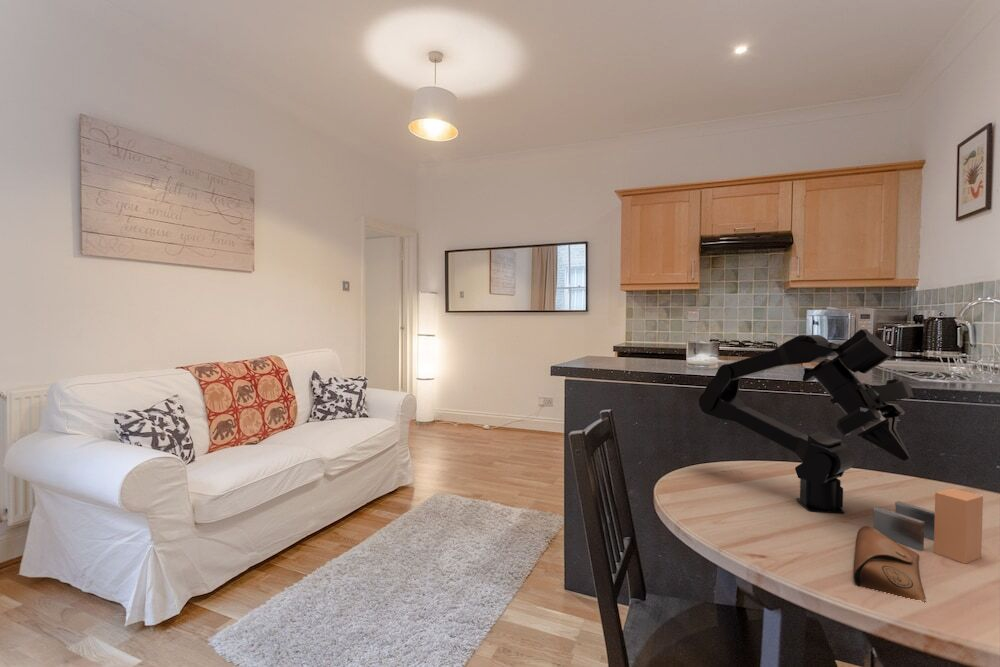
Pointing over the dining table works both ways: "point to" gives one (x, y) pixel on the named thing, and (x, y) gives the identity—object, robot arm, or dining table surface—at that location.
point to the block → (958, 525)
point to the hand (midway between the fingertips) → (907, 459)
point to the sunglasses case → (886, 565)
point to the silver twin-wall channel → (905, 524)
